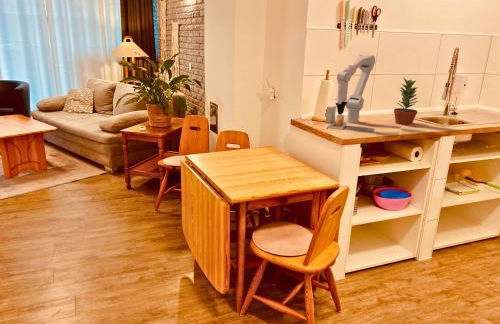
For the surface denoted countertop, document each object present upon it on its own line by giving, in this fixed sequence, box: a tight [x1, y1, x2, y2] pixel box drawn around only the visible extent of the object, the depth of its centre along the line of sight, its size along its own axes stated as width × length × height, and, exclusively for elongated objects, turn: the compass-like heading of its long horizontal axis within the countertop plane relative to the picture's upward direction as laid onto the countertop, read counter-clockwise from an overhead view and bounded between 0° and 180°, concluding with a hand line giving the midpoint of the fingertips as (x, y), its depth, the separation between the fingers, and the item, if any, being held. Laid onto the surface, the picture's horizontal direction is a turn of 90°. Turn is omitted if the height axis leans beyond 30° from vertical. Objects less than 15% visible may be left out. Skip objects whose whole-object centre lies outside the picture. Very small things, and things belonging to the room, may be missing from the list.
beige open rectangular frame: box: [329, 114, 347, 130], centre depth 237 cm, size 13×8×6 cm, turn 157°
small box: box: [324, 104, 337, 124], centre depth 255 cm, size 8×6×10 cm
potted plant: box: [393, 77, 420, 126], centre depth 252 cm, size 15×15×30 cm
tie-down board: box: [326, 123, 376, 133], centre depth 235 cm, size 12×27×1 cm, turn 67°
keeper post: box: [335, 118, 340, 127], centre depth 237 cm, size 2×2×4 cm
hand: (340, 113), depth 240 cm, fingers open, 4 cm apart
